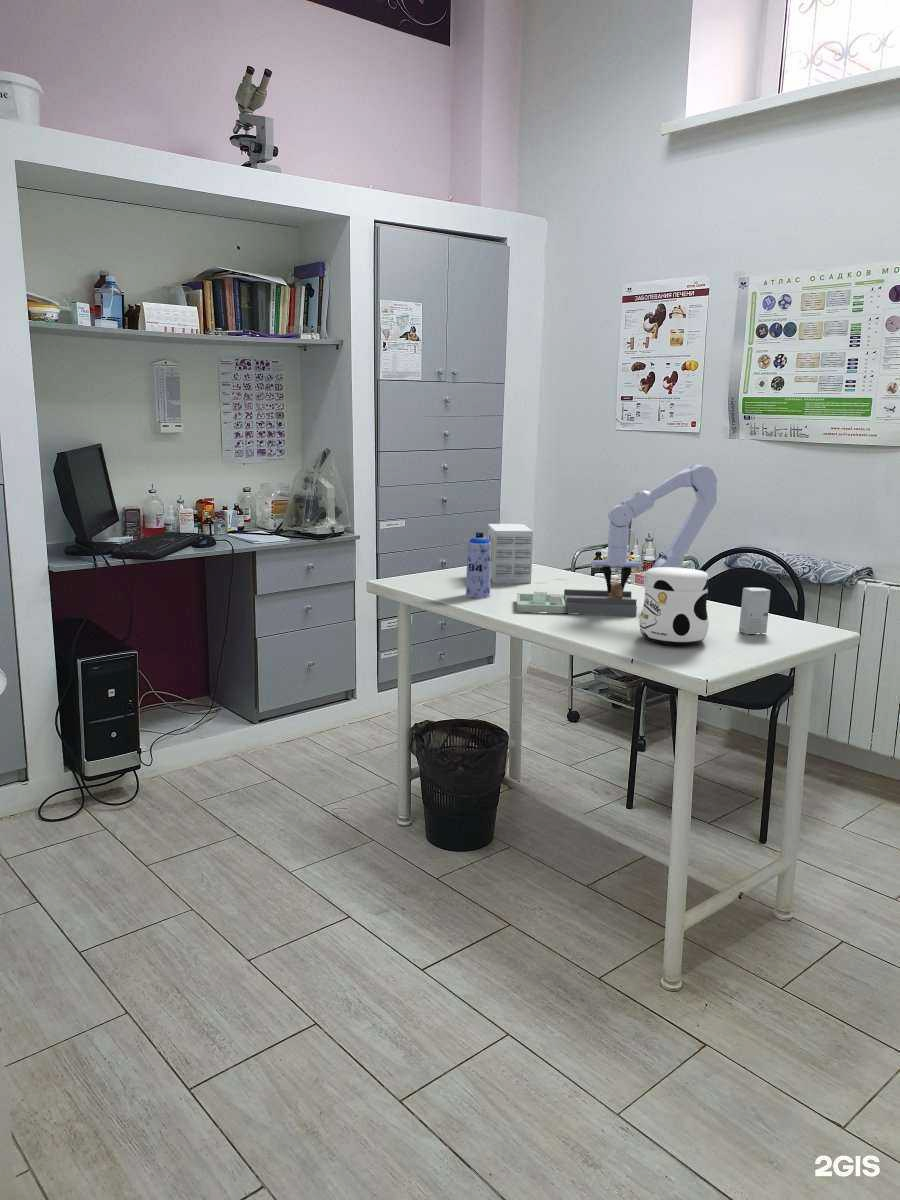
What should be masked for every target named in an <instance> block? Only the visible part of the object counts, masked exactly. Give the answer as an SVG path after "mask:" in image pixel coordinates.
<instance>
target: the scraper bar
mask: <svg viewBox="0 0 900 1200" xmlns="http://www.w3.org/2000/svg"><path fill="white" fill-rule="evenodd" d="M623 591H624V590H623V587H622V585H621V581H619V580H611V591H610V593H608V594H609V596H610V598H613V599H622V593H623Z"/></svg>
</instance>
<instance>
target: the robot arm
mask: <svg viewBox="0 0 900 1200" xmlns="http://www.w3.org/2000/svg"><path fill="white" fill-rule="evenodd" d="M717 482H718V479H717V476H716V474H715V471H714V470H713V469H712V468H711V467H710V466H707V465H704V464H701V463H696V464H692V465H691V466H690V467H686V468H684V469H682V470H680V471H679V472H677V473H676V474H673V475H672V476H671V477H669V478H667V479H666V480H665V481H663V482H661V483H660V484H659V485H656V486H655V487H654V488H653V489H651V490H649V491H648V490H644V489H643V490H641V491H639V490H636V491H635V492H634V495H632V496H630V497H629V498H628V499H625V500H621V501H619V503H620V504H617V505H614V506H612V507H611V508H610V509H609V512H608V516H607V517H608V521H610V522H609V525H608V526H609V527H608V528H609V530H608V538H607V539H608V541H607V543H608V544H607V556H606V557H607V558H606V559H599V560H597V559H595V560H594V559H593V560H591V568H592V569H595V568H599V569H600V568H601V570H602V573H603V577H604V579H605V583H606V588H607V589H606V591H607V592H608V593H610V591H611V581H612V569H620V583H621V585H622V587H623V591H625V590H624V589H625V587H626V583H627V581H628V579H629V577H630V575H631V574H632V570H633V569H635V570H636V569H637V570H642V569H643V562H642V561H637V560H636V561H634V560H628V552H629V551H628V550H629V549H628V548H629V533H630V532H629V525H630V523H631V521H632V519H636V518H637V517H639V516H641V515H642V514H644V513H646V512H647V511H649V510H651V509H653V508H654V505H655V502H656V501H657V500H659V499H661V498H663V497H665V496H666V495H668V494H670V493H673V492H674V491H676V490H678V489H679V488H693V492H694V494H695V497H696V502H695V503H694V505H693V507H692V508H691V510H690V512H689V514H688V515H687V517H686V518H685V520H684V522H683V523H682V525H681V527H680V529H679V530H678V532H677V534H676V535H675V538H673V540H672V542H671V544H670V545H669V547H668V548H667V549H666V550H664V552H663V554H662V555H661V556H660V557H659V558H657V559H656V560H655V562H654V563H653V567H652V568H656V567H679V568H682V566H683V564H684V561H685V556H686V555H687V553H688V551H689V550H690V548H691V546H692V544H693V543H694V541H695V539H696V538H697V537H698V535H699V532H700V531H701V529H702V527H703V526H704V524H705V522H706V521H707V519H708V517H709V516H710V513H711V512H712V510H713V509H714V508H715V505H716V503H717V501H718V500H717V495H718V494H717V485H718V483H717Z"/></svg>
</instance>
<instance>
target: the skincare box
mask: <svg viewBox="0 0 900 1200" xmlns="http://www.w3.org/2000/svg"><path fill="white" fill-rule="evenodd" d="M770 600H771V590H770V589H767V588H765V587H743V588H742V596H741V605H740V615H739V616H740V618H739V627H738V631H739V632H740V631H741V632H743V633H745V634H744V635H746V634H755V635H758V634H757V633H766V634H767V631H768V630H767V629H768V622H769V621H768V620H769V610H770ZM741 632H740V633H741ZM743 633H742V634H743Z"/></svg>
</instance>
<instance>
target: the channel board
mask: <svg viewBox="0 0 900 1200" xmlns="http://www.w3.org/2000/svg"><path fill="white" fill-rule="evenodd" d="M563 596H564V600H565V603H566V613H578V614H577V615H586V614H601V615H600V616H616V615H617V616H618V617H619V616H620V617H621V616H622V617H623V616H624V617H637V611H638V609H637V608H638V606H637V599H636V598H633V597H632V591H631V590H630V591H629V590H628V591H627V590H623V593H622V599H613V598H610V596H609V594H608V592H607V590H603V589H601V590H599V589H574V588H573V589H567V588H565V589H563Z"/></svg>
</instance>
